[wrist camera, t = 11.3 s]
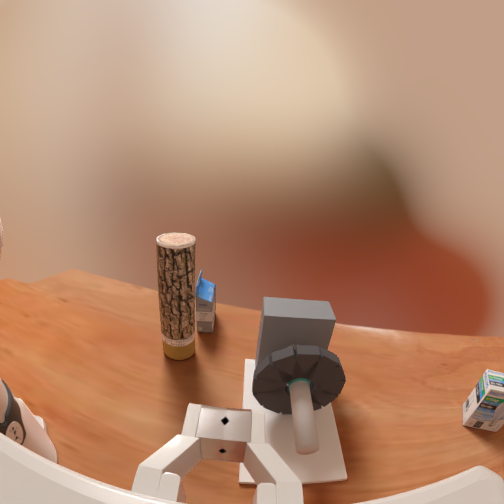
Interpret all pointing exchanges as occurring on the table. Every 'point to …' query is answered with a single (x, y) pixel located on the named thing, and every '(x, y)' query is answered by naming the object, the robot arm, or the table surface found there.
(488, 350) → the table surface
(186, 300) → the paper tube
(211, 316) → the label tape box
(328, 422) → the pipe rig
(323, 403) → the ring
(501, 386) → the light bulb box
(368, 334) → the table surface
